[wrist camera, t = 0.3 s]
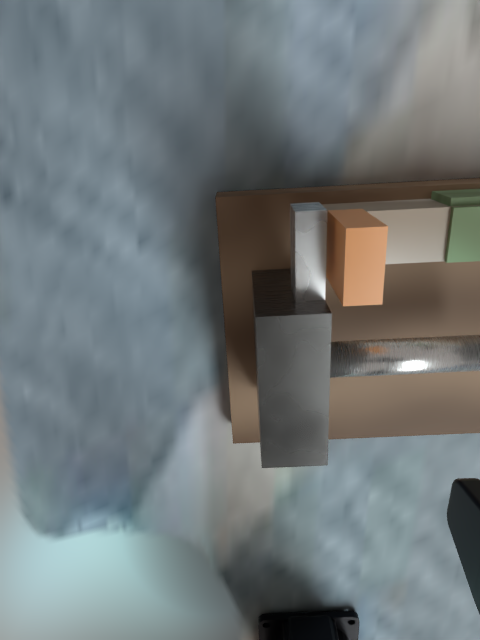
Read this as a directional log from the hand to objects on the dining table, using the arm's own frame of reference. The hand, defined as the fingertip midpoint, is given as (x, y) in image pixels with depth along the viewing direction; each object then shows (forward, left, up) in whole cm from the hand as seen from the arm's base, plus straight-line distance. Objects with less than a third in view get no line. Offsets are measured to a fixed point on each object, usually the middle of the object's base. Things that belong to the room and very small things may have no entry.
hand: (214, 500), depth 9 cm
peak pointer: (+2, -4, -9) cm, 11 cm away
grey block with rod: (-1, -6, -12) cm, 13 cm away
